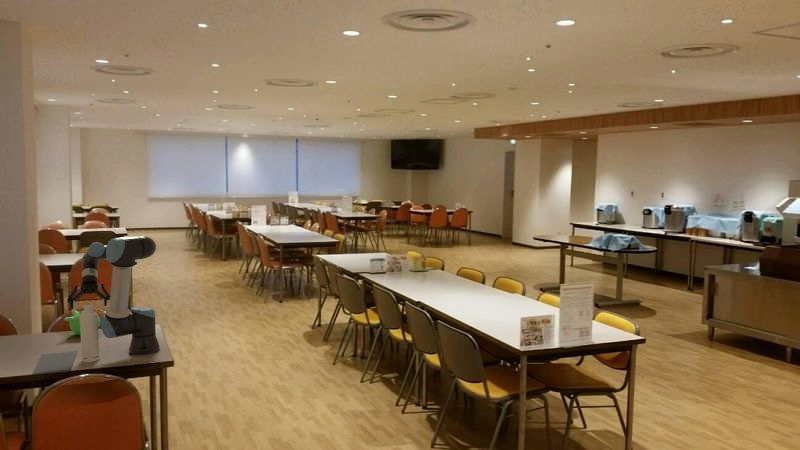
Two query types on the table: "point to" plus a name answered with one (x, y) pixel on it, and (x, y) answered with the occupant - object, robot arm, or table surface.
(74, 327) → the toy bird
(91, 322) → the bottle
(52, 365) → the mat
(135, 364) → the table surface
